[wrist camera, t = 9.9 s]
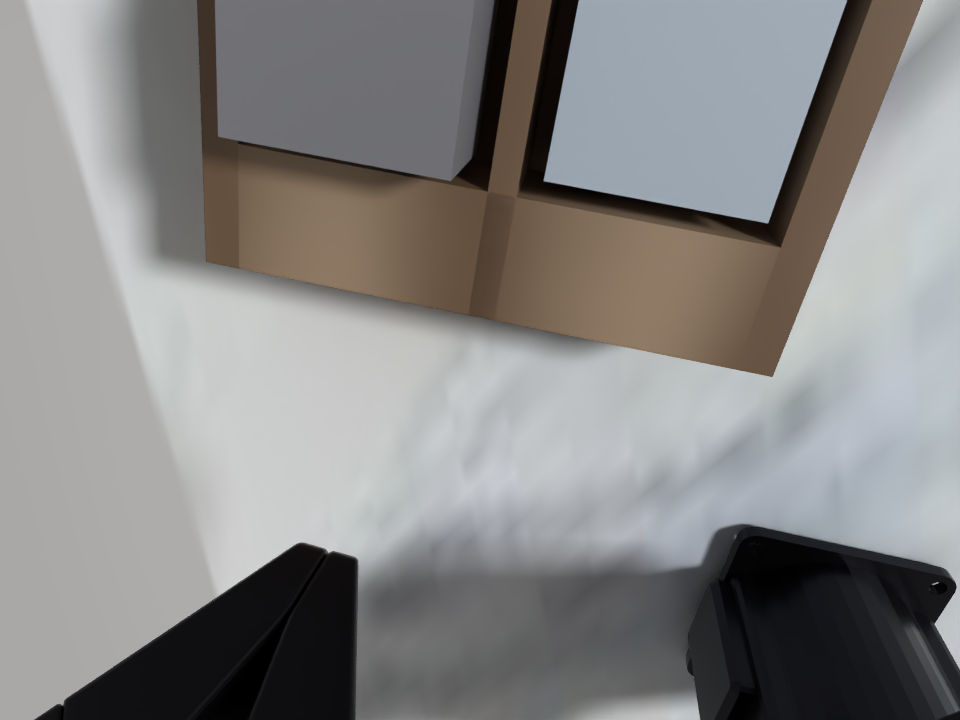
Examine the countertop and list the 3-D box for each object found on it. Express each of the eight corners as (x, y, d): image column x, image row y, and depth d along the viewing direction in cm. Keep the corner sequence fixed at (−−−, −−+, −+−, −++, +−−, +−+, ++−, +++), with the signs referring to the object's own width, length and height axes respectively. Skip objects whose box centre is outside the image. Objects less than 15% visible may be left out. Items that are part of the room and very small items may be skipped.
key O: (511, -84, 13) (489, -111, 10) (476, 153, 15) (451, 181, 12) (288, -120, 13) (211, -155, 11) (284, 117, 15) (218, 136, 13)
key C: (809, -26, 14) (860, -37, 11) (739, 190, 16) (768, 223, 13) (594, -61, 14) (594, -81, 11) (552, 155, 16) (543, 181, 14)
